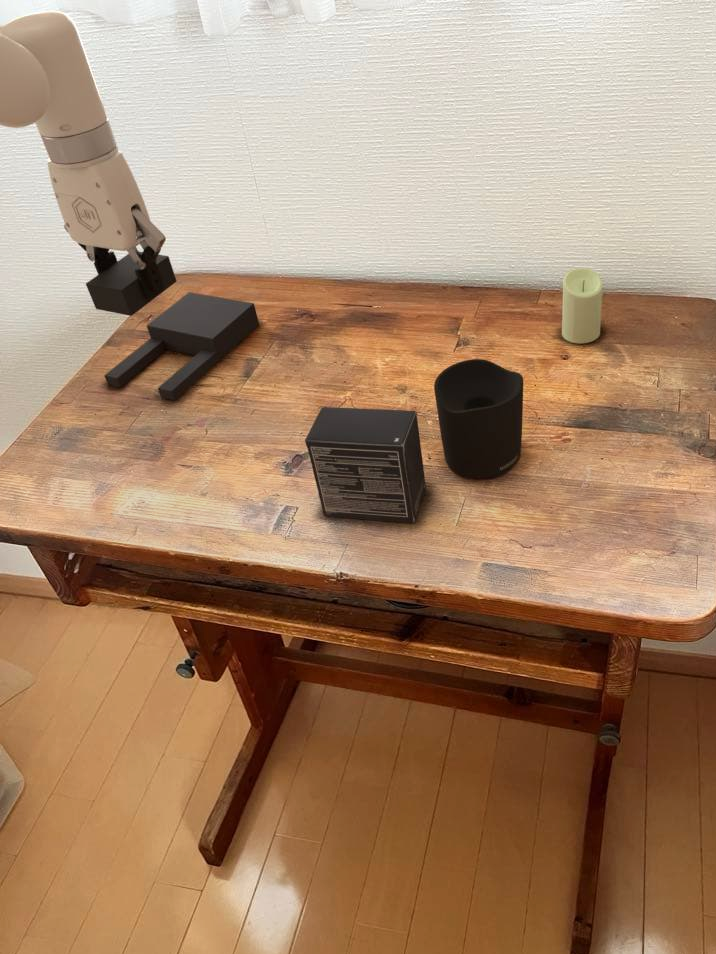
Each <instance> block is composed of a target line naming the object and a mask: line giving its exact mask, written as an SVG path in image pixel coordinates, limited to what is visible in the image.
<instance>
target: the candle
mask: <svg viewBox="0 0 716 954" xmlns="http://www.w3.org/2000/svg"><path fill="white" fill-rule="evenodd" d="M603 290H604V281H603V279H602V277H601V276H600V275H599V273H597V272H596V271H594V270H593V269H590V268H587V267H577V268H573V269H570V271H568V272H566V273H565V275H564V276H563V280H562V311H561V313H562V314H561V336H562V338H563V339H564V340H566V341H567V342H570V343H573V344H577V345H578V344H579V345H581V344H583V345H584V344H589V343H591V342H594V341H595V340H597V339H598V338H599V337H600V336H601V324H602V323H601V322H602V307H603Z"/></svg>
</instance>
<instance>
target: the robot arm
mask: <svg viewBox="0 0 716 954" xmlns="http://www.w3.org/2000/svg"><path fill="white" fill-rule="evenodd" d="M33 124H35V126H36V128H37V130H38V133H39V135H40V138H41V140H42V142H43V145H44V148H45V150H46V153H47V155H48V158H47V161H46V162H47V168H48V173H49V177H50V182H51V186H52V189H53V193H54V196H55V200H56V201H57V205H58V208H59V211H60V215H61V217H62V219H63V222H64V225H63V228H64V230H65V232H67V233H68V234H69V236H70V238H71V240H73V241H74V242H75V243H77V244H78V246H80V247H81V248H82V249H83V250H84V251H85V252H86V257H87V259H88V260H89V261H90V262H93V266H94V268H95V270H96V273H97V275H99V274H100V273H102V272H103V271H105V270H106V269H107V268H109V267H110V266H112V265H113V264H115V263H116V262H118V261H119V260H118V259H117V256H116V254H115V251H123V252H127V254H129V255H130V256H131V258H132V259H133V261H134V262H135V264H136V265H137V267H138V268H137V269H135V273H136V276H137V278H138V280H139V283H140V286H141V289H142V291H143V294H144V297H145V298H146V299H151V298H152V297H154V296H155V295H156V294H158V293H159V292H160V291H162V290H163V289H164V284H163V281H162V278H161V275H160V272H159V269H158V266H157V263H156V260H157V259H158V255H160V253H161V250H162V247H163V246H164V244H165V242H166V239H167V237H166V236H165V234H164V233H162V231H161V230H160V229H159V227H157V225H155V224H154V223H153V222H152V221H151V218H150V214H149V212H148V209H147V206H146V203H145V200H144V198H143V195H142V193H141V191H140V188H139V186H138V183H137V181H136V179H135V176H134V174H133V173H132V170H131V168H130V166H129V164H128V162H127V160H126V158H125V156H124V154H123V152H122V151H121V150H119V148H118V144H117V141H116V138H115V135H114V132H113V129H112V126H111V123H110V121H109V118H108V115H107V112H106V108H105V106H104V102H103V100H102V97H101V94H100V91H99V88H98V85H97V82H96V79H95V77H94V74H93V70H92V68H91V65H90V61H89V59H88V56H87V53H86V49H85V47H84V44H83V41H82V39H81V36H80V33H79V30H78V28H77V25H76V23H75V21H74V20H73V18H72V17H70V16H69V15H68V14H66V13H65V12H62V11H56V10H48V11H47V10H46V11H45V10H44V11H37V12H32V13H30V14H25V15H22V16H19V17H16V18H14V19H12V20H10V21H8V22H7V23H6V24H2V25H0V126H3V127H6V128H14V129H15V128H16V129H19V128H26V127H29V126H31V125H33ZM139 245H140V246H141V248H142V250H143V251H142V252H143V253H142V255H141V254H140V253H139V252H140V251H139V250H138V248H137V247H138V246H139ZM110 250H111V251H110ZM112 250H115V251H112Z"/></svg>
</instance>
